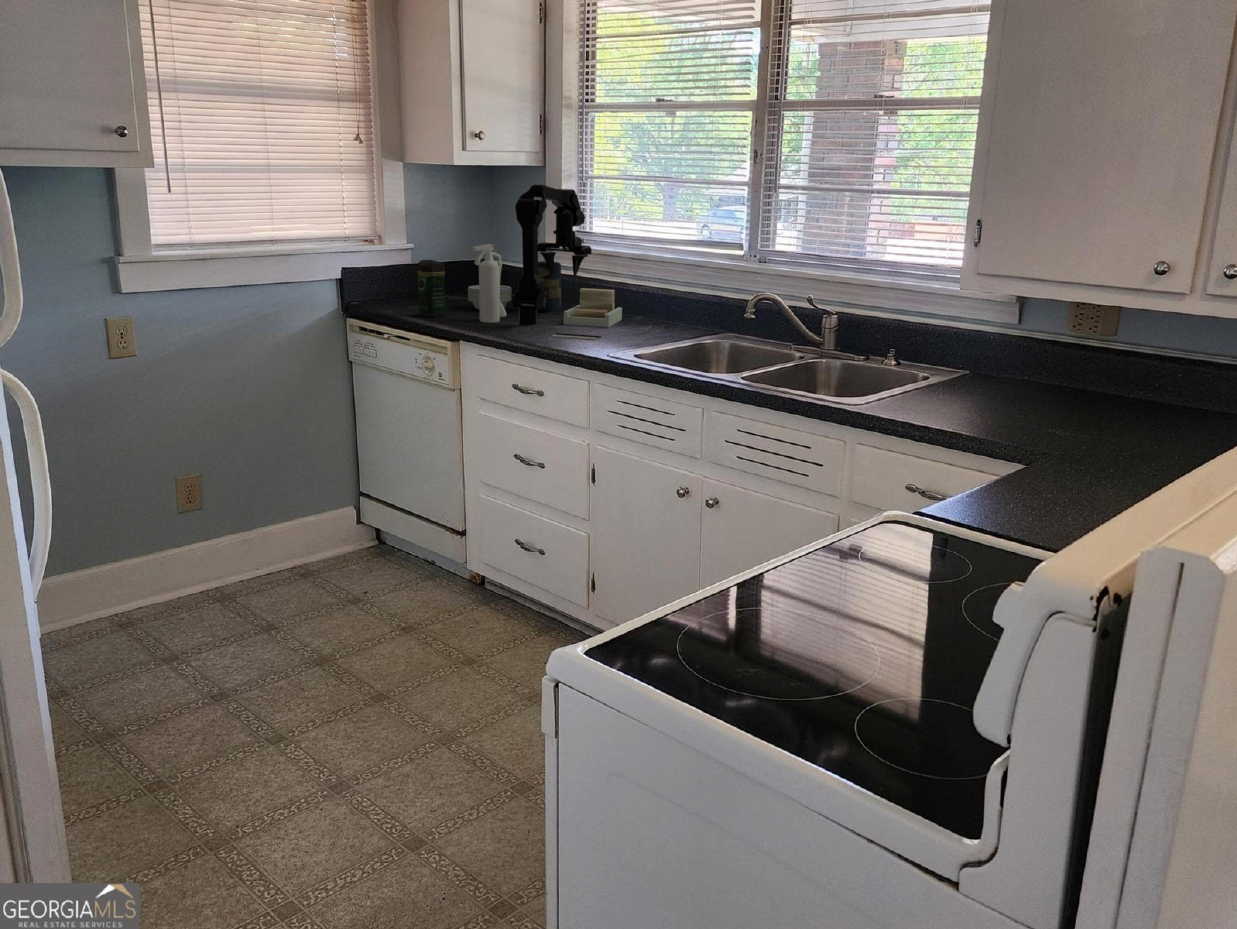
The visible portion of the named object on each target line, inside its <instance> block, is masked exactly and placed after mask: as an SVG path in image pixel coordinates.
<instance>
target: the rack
mask: <svg viewBox="0 0 1237 929" xmlns="http://www.w3.org/2000/svg"><path fill="white" fill-rule="evenodd" d="M577 308H580V304H578V305H575V306H573V307H571V308H569V309H567V310H564V311H563V325H564V326H565V325H567V326H569V325H570V326H582V327H596V328H610V327H611V326H613V325H615V324H617V323H619V322H620V321H622V320H623V307H617V308H614V310H613V311H611V312H609V313H607V314H605V319H603V318H588V317H573V316H572V314H574V310H575V309H577Z"/></svg>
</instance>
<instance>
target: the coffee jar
mask: <svg viewBox="0 0 1237 929" xmlns="http://www.w3.org/2000/svg"><path fill="white" fill-rule="evenodd" d="M416 270H417V271H416V272H417V278H418V280H417V281H418V282H417V283H418V304H417V306H418V308H417V309H418V315H420V316H422V317H426V318H430V317H431V318H432V317H433V318H440V317H444V316H446V315H447V312H446V311H447V310H446V308H447V307H446V294H445V275H446V271H445V270H446V269H445V264H444V263H443V262H442V261H437V260H434V259H421V260H419V261H418V263H417V268H416Z"/></svg>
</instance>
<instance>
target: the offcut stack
mask: <svg viewBox="0 0 1237 929" xmlns="http://www.w3.org/2000/svg"><path fill="white" fill-rule="evenodd" d="M605 314H607V310H596V309H580V308H577V309H575V310H574V314H572V316H573V317H588V318H603V319H605Z"/></svg>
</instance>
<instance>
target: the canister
mask: <svg viewBox="0 0 1237 929" xmlns="http://www.w3.org/2000/svg"><path fill="white" fill-rule="evenodd" d="M538 274H539V276H540V278H543V279H544V281H545V282H544V289H545V297H544V303H543V307H542V308H539V309H537V312H538V311H540V312H551V311H555V310H556V311H558V310H560V309H561V307H562V306H561V305H562V304H561V301H562V264H561V263H560V262H558V261H554V273H553V274H551V272H550V270H549V268H548V265H547V263H546V261H545V260H544V261H543V260H542V261H541V260H540V261H539V260H538Z"/></svg>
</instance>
